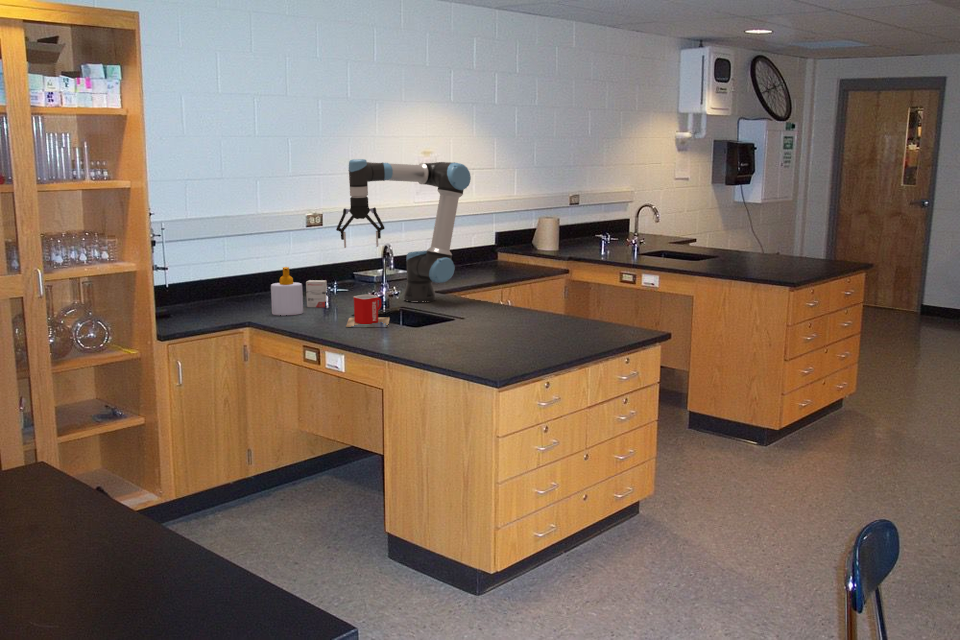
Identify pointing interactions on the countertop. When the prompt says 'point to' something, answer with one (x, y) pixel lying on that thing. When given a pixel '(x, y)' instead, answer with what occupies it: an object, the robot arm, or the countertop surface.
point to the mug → (366, 309)
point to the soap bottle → (286, 296)
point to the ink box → (316, 293)
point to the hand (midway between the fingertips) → (361, 246)
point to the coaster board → (380, 319)
